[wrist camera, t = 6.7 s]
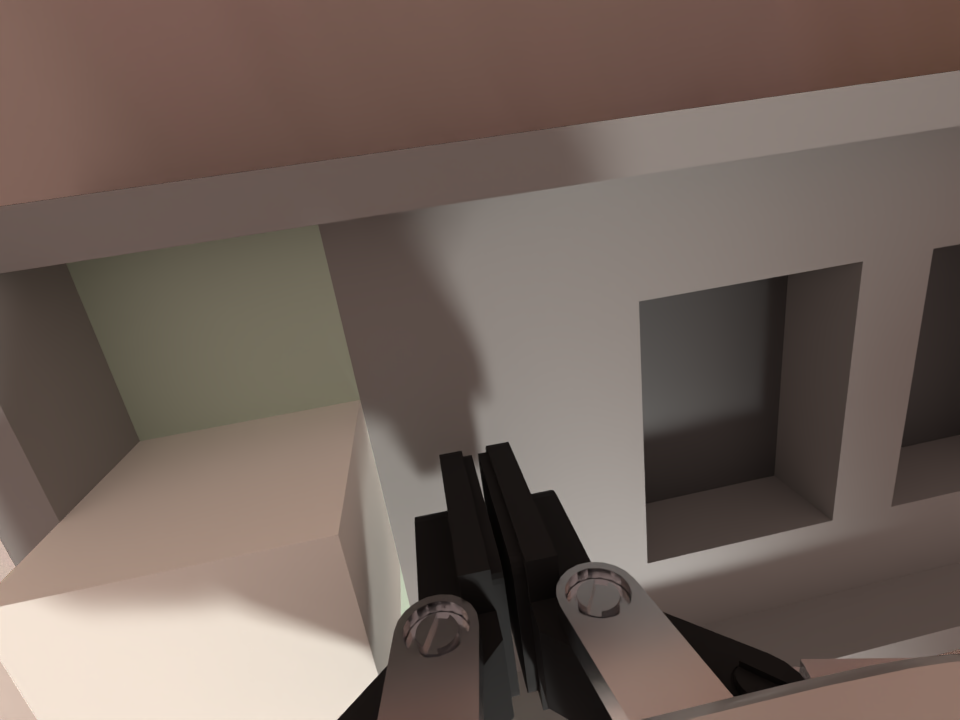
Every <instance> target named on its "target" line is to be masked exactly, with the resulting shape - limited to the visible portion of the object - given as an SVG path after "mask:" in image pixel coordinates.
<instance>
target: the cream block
mask: <svg viewBox="0 0 960 720" xmlns="http://www.w3.org/2000/svg"><path fill="white" fill-rule="evenodd" d="M400 617H401V583H400V564H399V559H398V555H397V551H396V547H395V543H394V539H393V535H392V530H391V526H390V522H389V518H388V514H387V510H386V505H385V501H384V497H383V493H382V489H381V485H380V480H379V476H378V472H377V468H376V464H375V460H374V456H373V451H372V447H371V443H370V439H369V435H368V431H367V426H366V422H365V418H364V414H363V410H362V406H361V401H360V400H356V401H351V402H346V403H340V404H335V405H330V406H324V407H319V408H314V409H308V410H303V411H298V412H292V413H287V414H282V415H276V416H271V417H266V418H261V419H255V420H250V421H245V422H239V423H234V424H229V425H223V426H218V427H213V428H207V429H202V430H197V431H191V432H186V433H181V434H175V435H170V436H165V437H160V438H154V439H149V440H144V441H140V442H139V443H138V444H137V445H136V446H135V447H134V448H133V449H132V450H131V451H130V452H129V453H128V454H127V455H126V456H125V457H124V458H123V459H122V460H121V461H120V462H119V463H118V464H117V465H116V466H115V467H114V468H113V469H112V470H111V471H110V472H109V473H108V474H107V475H106V476H105V477H104V478H103V479H102V480H101V481H100V482H99V483H98V484H97V485H96V486H95V487H94V488H93V489H92V490H91V491H90V492H89V493H88V494H87V495H86V496H85V497H84V498H83V499H82V500H81V501H80V502H79V503H78V504H77V505H76V506H75V507H74V508H73V509H72V510H71V511H70V513H69V514H68V515H67V516H66V517H65V518H64V519H63V520H62V521H61V522H60V523H58V524H57V526H56V527H55V528H54V529H53V530H52V531H51V532H50V533H49V534H48V535H47V536H46V537H45V538H44V539H43V540H42V541H41V542H40V543H39V544H38V545H37V546H36V547H35V548H34V549H33V550H32V551H31V552H30V553H29V554H28V555H27V556H26V557H25V558H24V559H23V560H22V561H21V562H20V563H19V564H18V565H17V566H16V567H15V568H14V569H13V570H12V571H11V572H10V573H9V574H8V575H7V576H6V577H5V578H4V579H3V580H2V581H1V582H0V662H1V663H2V665H3V666H4V668H5V670H6V671H7V673H8V674H9V676H10V678H11V679H12V681H13V682H14V684H15V686H16V687H17V689H18V690H19V692H20V693H21V695H22V697H23V698H24V700H25V701H26V703H27V705H28V706H29V708H30V709H31V711H32V713H33V714H34V716H35V717H36V719H37V720H337V719H338V718H339V717H340V716H341V715H342V714H343V713H344V712H345V711H346V710H347V708H348V707H349V706H350V705H351V704H352V703H353V702H354V701H355V700H356V699H357V698H358V697H359V695H360V694H361V693H362V692H363V691H364V690H365V689H366V688H367V687H368V686H369V685H370V684H371V682H372V681H373V680H374V679H375V678H376V677H377V676H378V675H379V674H380V673H381V672H382V671H383V670H384V668H385V667H386V666H387V665H388V660H389V654H390V649H391V644H392V638H393V633H394V630H395V627H396V624H397V621H398V620H399V618H400Z"/></svg>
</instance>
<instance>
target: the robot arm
mask: <svg viewBox="0 0 960 720" xmlns="http://www.w3.org/2000/svg"><path fill="white" fill-rule="evenodd" d="M439 459H440V465H441V472H442V478H443V485H444V492H445V498H446V505H447V511H443V512H438V513H433V514H428V515H423V516H418V517H415V542H416V562H417V582H418V602H416V603H414V604H413V605H412V606H411V607H409V608H408V609H407V610H406V611H405V612H404V613H403V614H402V616H401V617H400V618H399V620H398V621H397V624H396V627H395V630H394V633H393V638H392V644H391V649H390V654H389V660H388V665H387V666H386V667H385V668H384V670H383V671H382V672H381V673H380V674H379V675H378V676H377V677H376V678H375V679H374V680H373V681H372V682H371V684H370V685H369V686H368V687H367V688H366V689H365V690H364V691H363V692H362V693H361V694H360V695H359V697H358V698H357V699H356V700H355V701H354V702H353V703H352V704H351V705H350V706H349V707H348V708H347V710H346V711H345V712H344V713H343V714H342V715H341V716H340V717H339V718H338V719H337V720H512V719H513V718H514V711H513V704H512V697H514V696H519V695H520V690H519V683H518V676H517V668H516V661H515V654H514V647H513V640H512V634H513V638H514V642H515V646H516V650H517V654H518V658H519V662H520V666H521V670H522V673H523V677H524V681H525V685H526V689H527V692H528V693H531V692H535V691H538V693H539V697H540V700H541V704H542V708H543V710H547V709H551V710H552V711H554V712H556V713H558V714H559V715H561V716H563V717H565V718H566V719H568V720H960V654H949V655H938V656H927V657H917V658H852V659H801V660H800V667H791V666H790V665H789V664H788V663H786V662H785V661H783V660H781V659H779V658H777V657H775V656H773V655H771V654H769V653H767V652H764V651H762V650H759V649H757V648H754V647H751V646H749V645H746V644H744V643H741V642H739V641H736V640H734V639H731V638H729V637H726V636H723V635H721V634H718V633H716V632H713V631H711V630H708V629H706V628H703V627H700V626H698V625H695V624H693V623H690V622H688V621H685V620H683V619H680V618H678V617H675V616H672V615H670V614H667V613H665V612H662V611H661V610H660V608H659V607H658V606H657V605H656V604H655V602H654V601H653V600H652V599H651V598H650V596H649V595H648V594H647V593H646V592H645V591H644V589H643V588H642V587H641V586H640V585H639V583H638V582H637V581H636V580H635V579H634V578H633V577H632V576H631V575H630V574H629V573H628V572H627V571H625V570H623V569H621V568H619V567H617V566H615V565H612V564H608V563H604V562H591V561H590V559H589V557H588V555H587V553H586V551H585V549H584V547H583V545H582V543H581V541H580V539H579V537H578V535H577V533H576V531H575V529H574V528H573V526H572V524H571V522H570V520H569V518H568V516H567V514H566V512H565V510H564V508H563V506H562V504H561V502H560V500H559V498H558V496H557V494H556V493H555V491H554V490H548V491H543V492H538V493H533V494H531V492H530V490H529V488H528V486H527V483H526V481H525V479H524V476H523V474H522V472H521V469H520V467H519V465H518V462H517V460H516V458H515V455H514V453H513V451H512V448H511V446H510V444H509V442H504V443H499V444H493V445H488V446H486V452H484V453H479V454H478V460H479V467H480V474H481V481H482V488H483V494H482V491H481V487H480V483H479V480H478V476H477V472H476V469H475V465H474V461H473V458H472V455H468V456H463V454H462V451H456V452H451V453H446V454H440V455H439ZM483 495H484V498H483ZM484 501H485V502H484ZM511 630H512V632H511Z"/></svg>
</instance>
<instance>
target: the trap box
mask: <svg viewBox="0 0 960 720" xmlns="http://www.w3.org/2000/svg"><path fill="white" fill-rule="evenodd" d="M356 400H360V401H361V406H362V410H363V414H364V418H365V422H366V426H367V431H368V435H369V439H370V443H371V447H372V451H373V456H374V460H375V464H376V468H377V472H378V476H379V480H380V485H381V489H382V493H383V497H384V501H385V505H386V510H387V514H388V518H389V522H390V526H391V530H392V535H393V539H394V543H395V547H396V551H397V555H398V559H399V564H400V583H401V616H402V614H403V613H404V612H405V611H406V610H407V609H408V608H409V607H411V606H412V605H413V604H414V603H416V602H418V582H417V562H416V542H415V517H418V516H423V515H428V514H433V513H438V512H443V511H447V505H446V498H445V492H444V485H443V478H442V472H441V465H440V459H439V455H440V454H446V453H451V452H456V451H462V454H463V456H468V455H472V458H473V461H474V465H475V469H476V472H477V476H478V480H479V483H480V487H481V491H482V494H483V488H482V481H481V474H480V467H479V460H478V454H479V453H484V452H486V446H488V445H493V444H499V443H504V442H509V444H510V446H511V448H512V451H513V453H514V455H515V458H516V460H517V462H518V465H519V467H520V469H521V472H522V474H523V476H524V479H525V481H526V483H527V486H528V488H529V490H530V492H531V494H533V493H538V492H543V491H548V490H554V491H555V493H556V494H557V496H558V498H559V500H560V502H561V504H562V506H563V508H564V510H565V512H566V514H567V516H568V518H569V520H570V522H571V524H572V526H573V528H574V529H575V531H576V533H577V535H578V537H579V539H580V541H581V543H582V545H583V547H584V549H585V551H586V553H587V555H588V557H589V559H590V561H591V562H604V563H608V564H612V565H615V566H617V567H619V568H621V569H623V570H625V571H627V572H628V573H629V574H630V575H631V576H632V577H633V578H634V579H635V580H636V581H637V582H638V583H639V585H640V586H641V587H642V588H643V589H644V591H645V592H646V593H647V594H648V595H649V596H650V598H651V599H652V600H653V601H654V602H655V604H656V605H657V606H658V607H659V608H660V610H661V611H662V612H665V613H667V614H670V615H672V616H675V617H678V618H680V619H683V620H685V621H688V622H690V623H693V624H695V625H698V626H700V627H703V628H706V629H708V630H711V631H713V632H716V633H718V634H721V635H723V636H726V637H729V638H731V639H734V640H736V641H739V642H741V643H744V644H746V645H749V646H751V647H754V648H757V649H759V650H762V651H764V652H767V653H769V654H771V655H773V656H775V657H777V658H779V659H781V660H783V661H785V662H786V663H788V664H789V665H790V666H791V667H800V660H801V659H852V658H917V657H927V656H936V655H940V654H944V653H948V652H952V651H955V650H959V649H960V70H958V71H951V72H944V73H937V74H930V75H923V76H916V77H909V78H902V79H895V80H888V81H881V82H874V83H867V84H860V85H853V86H846V87H839V88H832V89H824V90H817V91H810V92H803V93H796V94H789V95H782V96H775V97H768V98H761V99H754V100H747V101H740V102H733V103H726V104H719V105H712V106H705V107H698V108H691V109H683V110H676V111H669V112H662V113H655V114H648V115H641V116H634V117H627V118H620V119H613V120H606V121H599V122H592V123H585V124H578V125H571V126H564V127H557V128H550V129H542V130H535V131H528V132H521V133H514V134H507V135H500V136H493V137H486V138H479V139H472V140H465V141H458V142H451V143H444V144H437V145H430V146H423V147H416V148H408V149H401V150H394V151H387V152H380V153H373V154H366V155H359V156H352V157H345V158H338V159H331V160H324V161H317V162H310V163H303V164H296V165H289V166H282V167H275V168H267V169H260V170H253V171H246V172H239V173H232V174H225V175H218V176H211V177H204V178H197V179H190V180H183V181H176V182H169V183H162V184H155V185H148V186H141V187H134V188H126V189H119V190H112V191H105V192H98V193H91V194H84V195H77V196H70V197H63V198H56V199H49V200H42V201H35V202H28V203H21V204H14V205H7V206H0V540H1V542H2V543H3V545H4V547H5V549H6V550H7V552H8V554H9V556H10V557H11V559H12V561H13V563H14V565H15V566H17V565H18V564H19V563H20V562H21V561H22V560H23V559H24V558H25V557H26V556H27V555H28V554H29V553H30V552H31V551H32V550H33V549H34V548H35V547H36V546H37V545H38V544H39V543H40V542H41V541H42V540H43V539H44V538H45V537H46V536H47V535H48V534H49V533H50V532H51V531H52V530H53V529H54V528H55V527H56V526H57V524H58V523H60V522H61V521H62V520H63V519H64V518H65V517H66V516H67V515H68V514H69V513H70V511H71V510H72V509H73V508H74V507H75V506H76V505H77V504H78V503H79V502H80V501H81V500H82V499H83V498H84V497H85V496H86V495H87V494H88V493H89V492H90V491H91V490H92V489H93V488H94V487H95V486H96V485H97V484H98V483H99V482H100V481H101V480H102V479H103V478H104V477H105V476H106V475H107V474H108V473H109V472H110V471H111V470H112V469H113V468H114V467H115V466H116V465H117V464H118V463H119V462H120V461H121V460H122V459H123V458H124V457H125V456H126V455H127V454H128V453H129V452H130V451H131V450H132V449H133V448H134V447H135V446H136V445H137V444H138V443H139V442H140V441H144V440H149V439H154V438H160V437H165V436H170V435H175V434H181V433H186V432H191V431H197V430H202V429H207V428H213V427H218V426H223V425H229V424H234V423H239V422H245V421H250V420H255V419H261V418H266V417H271V416H276V415H282V414H287V413H292V412H298V411H303V410H308V409H314V408H319V407H324V406H330V405H335V404H340V403H346V402H351V401H356ZM483 498H484V495H483ZM484 502H485V501H484ZM511 632H512V630H511ZM512 640H513V647H514V654H515V661H516V668H517V676H518V683H519V690H520V695H519V696H514V697H512V704H513V711H514V718H513V719H512V720H568V719H566V718H565V717H563V716H561V715H559V714H558V713H556V712H554V711H552V710H551V709H547V710H543V708H542V704H541V700H540V697H539V693H538V691H535V692H531V693H528V692H527V689H526V685H525V681H524V677H523V673H522V670H521V666H520V662H519V658H518V654H517V650H516V646H515V642H514V638H513V634H512Z"/></svg>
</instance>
